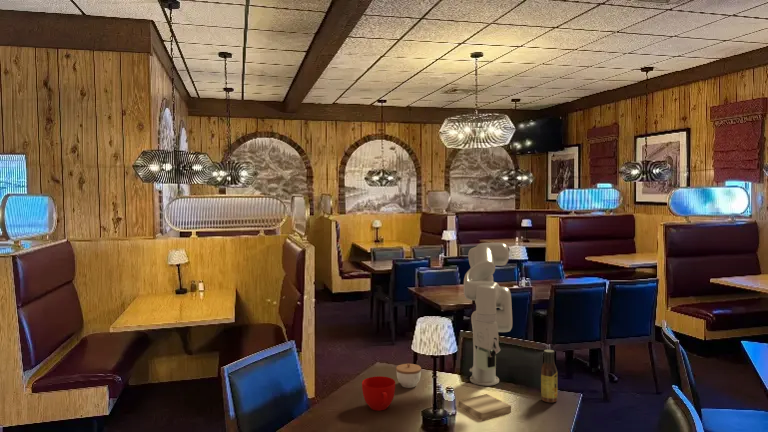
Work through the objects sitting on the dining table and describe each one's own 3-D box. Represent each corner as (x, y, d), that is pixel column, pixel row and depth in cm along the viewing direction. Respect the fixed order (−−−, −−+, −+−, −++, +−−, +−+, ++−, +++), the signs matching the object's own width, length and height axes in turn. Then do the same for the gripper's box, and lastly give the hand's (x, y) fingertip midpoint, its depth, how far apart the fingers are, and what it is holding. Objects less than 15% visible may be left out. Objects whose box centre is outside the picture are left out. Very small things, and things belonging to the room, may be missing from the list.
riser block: (458, 408, 213) (458, 400, 213) (486, 401, 220) (486, 393, 220) (482, 421, 201) (482, 413, 201) (511, 413, 208) (511, 405, 208)
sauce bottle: (558, 403, 215) (558, 353, 214) (541, 402, 216) (541, 353, 215) (556, 397, 222) (556, 349, 221) (540, 396, 223) (540, 348, 222)
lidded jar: (423, 382, 241) (423, 360, 240) (418, 390, 231) (418, 368, 230) (399, 379, 244) (399, 359, 243) (393, 388, 234) (393, 366, 233)
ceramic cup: (369, 420, 202) (368, 393, 202) (359, 402, 218) (358, 378, 218) (402, 415, 206) (402, 389, 205) (390, 399, 222) (390, 374, 221)
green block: (476, 367, 211) (476, 349, 210) (486, 364, 213) (486, 347, 213) (485, 370, 206) (485, 352, 206) (495, 368, 209) (495, 350, 208)
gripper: (464, 314, 214) (464, 360, 215) (493, 323, 200) (493, 372, 200) (479, 312, 218) (479, 357, 219) (509, 320, 203) (509, 369, 204)
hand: (486, 364), depth 210 cm, fingers closed on green block, 5 cm apart
